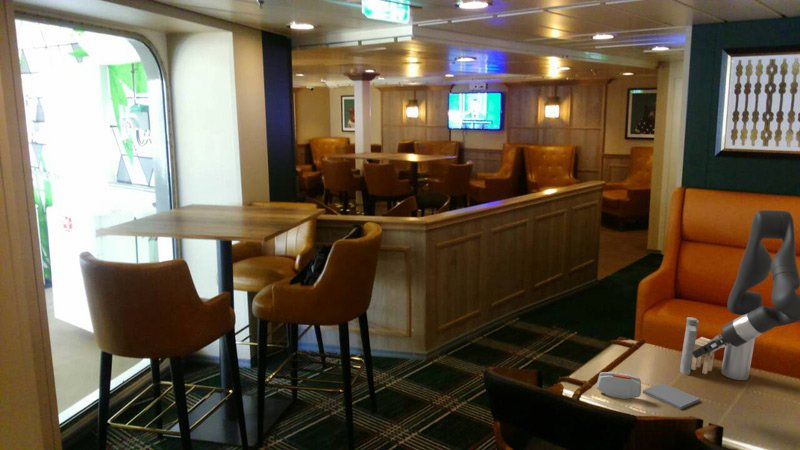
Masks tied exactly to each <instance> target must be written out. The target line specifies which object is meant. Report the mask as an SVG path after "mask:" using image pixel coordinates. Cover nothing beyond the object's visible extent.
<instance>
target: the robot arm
mask: <svg viewBox="0 0 800 450" xmlns="http://www.w3.org/2000/svg"><path fill="white" fill-rule="evenodd" d="M795 236H796V235H795V223H794V218H793V215H792V214H791V213H790V211H788V210H776V209H775V210H773V209H772V210H770V209H768V210H767V209H763V210H758V211H756V212H755V213H754V216H753V219H752V222H751V226H750V232H749V237H748V240H747V244H746V248H745V250H744V253H743V256H742V259H741V261H740V264H739V268H738V272H737V276H736V279H735V282H734V284H733V287H732V288H731V290H730V293H729V296H728V299H727V302H726V303H727V304H726V305H727V306H726V307H727V310H728V311H729V313H731V314H733V315H738V316H739V317H737V318H734V319H732V320H731V321H729V322H726V323H725V324H724V325H722V327H721V331H722V332H721V333H719V334H717V335H715V336H714V337H713V338H712V339H709V340H710V341H708V342H707V344H706V345H704V346H701V348H699V349H697V350H695V351H693V352H692V354H693V355H694V357H695V358H698V357H700V356H702V357H703V355H704V354H707V353H709V352H711V351H715V352H716V351H717V350H720V349H723V348H724V352H723V356H722V357H723V358H722V364H721V372H720V373H721V374H722V375H723V376H725V377H726V378H729V379H732V380H737V381H746V380H748V379H749V375H750V371H751V365H752V364H751V363H752V359H753V352H754V347H755V341H756V339H757V338H758V337H760V336H761V335H762V334H764V333H767V332H768V331H771V330H772V329H774V328H777V327H783V326H787V325H791V324H795V323H797V322H798V323H799V322H800V293H797V292H796V291H797V290H799V289H800V273H799V269H798V265H797V259H796V258H797V257H796V256H797V255H796V237H795ZM764 239H775V240H776V239H777V240H782V244H781V246H780V248H779V249H778V251H777V253H776V254H775V255H774V257H772V256H771V254H770V252H769V251H768V250H767V249H766V247H765V245H764V244H763V242H762V240H764ZM770 272H771V273H770ZM769 274H771V278H772V282H773V285H772V291H771V303H772V305H773V307H772V306H768V305H763V297H762V294H761V293H760V292H757V291H750V290H751V289H753V288H754V287H756V286H759V285H760V284H761V283H763V282H764V281H765V280H767V278H768V277H769ZM706 347H707V349H708V350H707V349H706Z"/></svg>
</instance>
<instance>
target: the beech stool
mask: <svg viewBox="0 0 800 450" xmlns="http://www.w3.org/2000/svg"><path fill="white" fill-rule="evenodd" d="M710 340H711V339H709V338H706V337H703V336H700V337H699V338H696V340H695V346H694V351H695V350H697V349H699V348H701V346H704V345H706V344H707V342H708V341H710ZM706 349H707V347H706ZM707 350H708V349H707ZM715 354H716V351H711V352H709V353H707V354H704V355H702V356H700V357H698V358H695V357H694V355H693V359H692V364H691V370H693V371H696V370H697V368H701V367H702V372H701V373H702V374H704V375H707V374H708V373H709V372H712V370H713V365H714V360H715ZM703 357H704V358H703ZM703 359H704V360H703ZM702 361H703V365H702Z"/></svg>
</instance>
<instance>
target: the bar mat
mask: <svg viewBox="0 0 800 450" xmlns="http://www.w3.org/2000/svg"><path fill="white" fill-rule="evenodd" d="M642 393H643V394H644V395H647V396H649V397H651V398H653V399H655V400H658V401H660V402H662V403H665V404H667V405H669V406H671V407H673V408H676V409H678V410H683V409H686V408H688V407H690V406H692V405H694V404H697V403H699V402H700V401H701V398H699V397H696V396H695V395H692V394H690V393H687V392H686V391H682V390H681V389H678V388H676V387H674V386H670V385H668V384H666V383H663V382H662V383H659V384H655V385H653V386H651V387H648V388H645V389H643V390H642Z"/></svg>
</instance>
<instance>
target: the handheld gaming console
mask: <svg viewBox="0 0 800 450" xmlns="http://www.w3.org/2000/svg"><path fill="white" fill-rule="evenodd" d="M597 378H598V379H597V382H596V390H598V391H599V392H601V393H603V394H605V395H606V396H609V397H612V398H620V399H626V400H627V399H632V398H639V397H641V395H642V382H641V378H640V377H639V376H638V377H637V376H634V375H632V374H628V373H620V372H615V371H608V372H607V371H605V372H603V371H602V372H599V375H598V377H597Z"/></svg>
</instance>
